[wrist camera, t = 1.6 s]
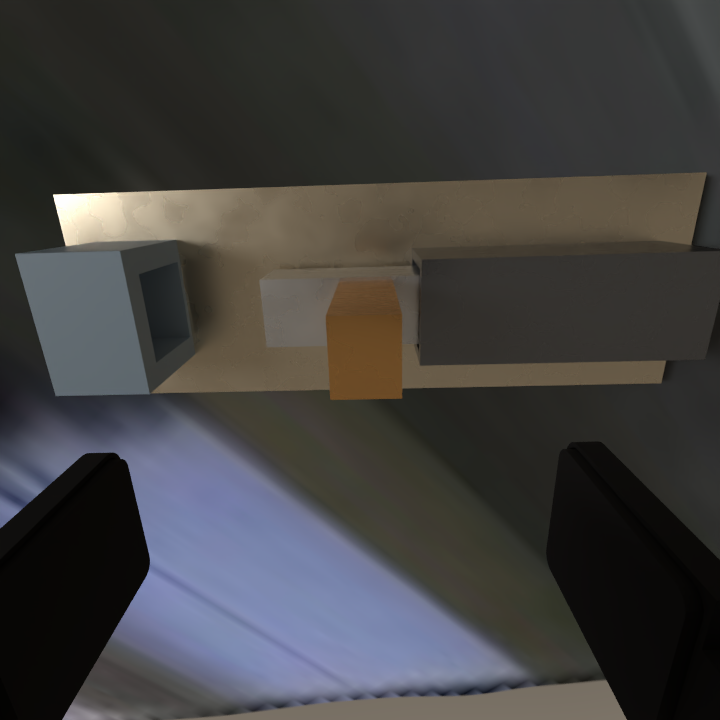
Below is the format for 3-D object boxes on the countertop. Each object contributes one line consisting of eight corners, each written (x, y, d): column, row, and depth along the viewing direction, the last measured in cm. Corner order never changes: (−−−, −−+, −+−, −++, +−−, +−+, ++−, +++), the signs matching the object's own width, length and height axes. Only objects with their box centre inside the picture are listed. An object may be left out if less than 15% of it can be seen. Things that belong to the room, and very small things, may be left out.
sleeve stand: (695, 173, 28) (795, 164, 21) (652, 377, 33) (723, 422, 26) (63, 195, 29) (-26, 193, 23) (110, 388, 34) (47, 433, 27)
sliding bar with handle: (634, 259, 28) (813, 299, 17) (624, 320, 29) (782, 395, 18) (273, 269, 29) (211, 314, 17) (279, 329, 30) (225, 406, 19)
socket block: (176, 239, 29) (119, 250, 23) (195, 354, 32) (149, 394, 25) (94, 242, 29) (14, 253, 23) (120, 355, 32) (55, 395, 25)
